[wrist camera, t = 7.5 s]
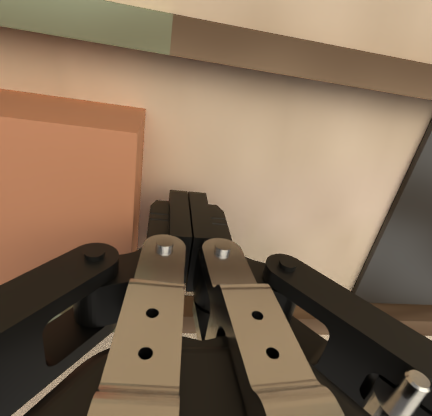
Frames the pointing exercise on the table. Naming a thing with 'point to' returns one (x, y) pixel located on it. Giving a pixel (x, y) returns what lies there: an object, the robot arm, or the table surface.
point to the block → (66, 177)
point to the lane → (292, 66)
